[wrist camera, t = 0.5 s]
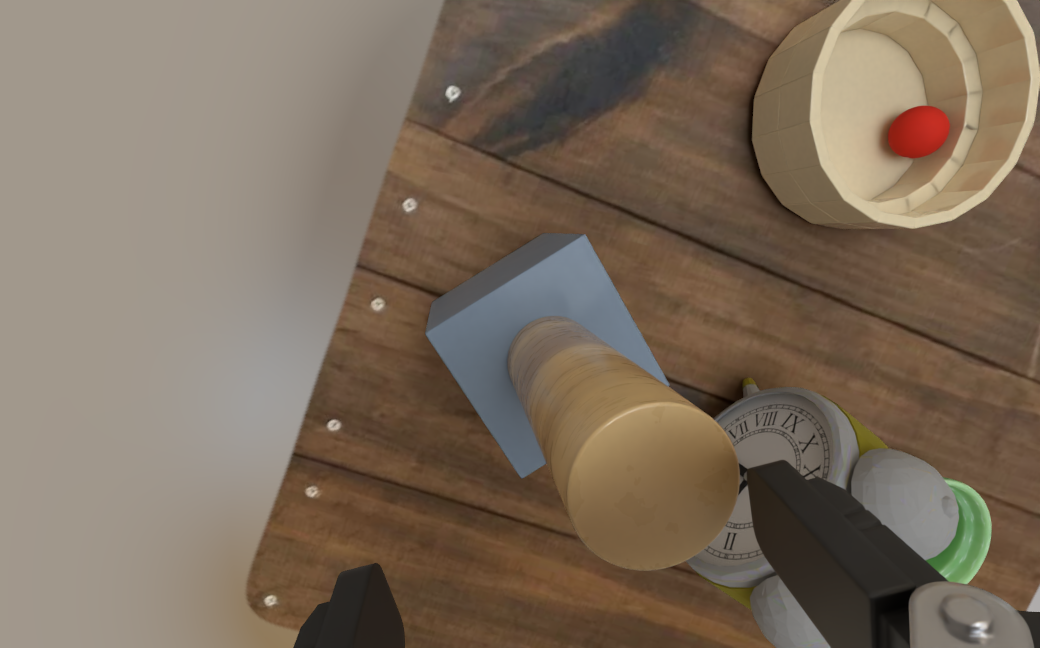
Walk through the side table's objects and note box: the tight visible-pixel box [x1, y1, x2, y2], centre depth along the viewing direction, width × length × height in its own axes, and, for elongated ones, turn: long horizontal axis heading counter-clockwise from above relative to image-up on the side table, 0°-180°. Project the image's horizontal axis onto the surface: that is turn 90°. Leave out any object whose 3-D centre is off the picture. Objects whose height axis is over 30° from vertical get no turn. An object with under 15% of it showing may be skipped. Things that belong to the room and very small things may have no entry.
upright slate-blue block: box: [425, 233, 669, 478], centre depth 28 cm, size 8×8×10 cm
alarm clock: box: [686, 378, 959, 648], centre depth 29 cm, size 12×7×15 cm, turn 143°
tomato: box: [888, 106, 950, 158], centre depth 32 cm, size 3×3×3 cm
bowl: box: [752, 0, 1040, 229], centre depth 31 cm, size 13×13×6 cm
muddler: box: [507, 316, 740, 571], centre depth 18 cm, size 4×4×12 cm
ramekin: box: [925, 477, 992, 584], centre depth 37 cm, size 9×9×4 cm
